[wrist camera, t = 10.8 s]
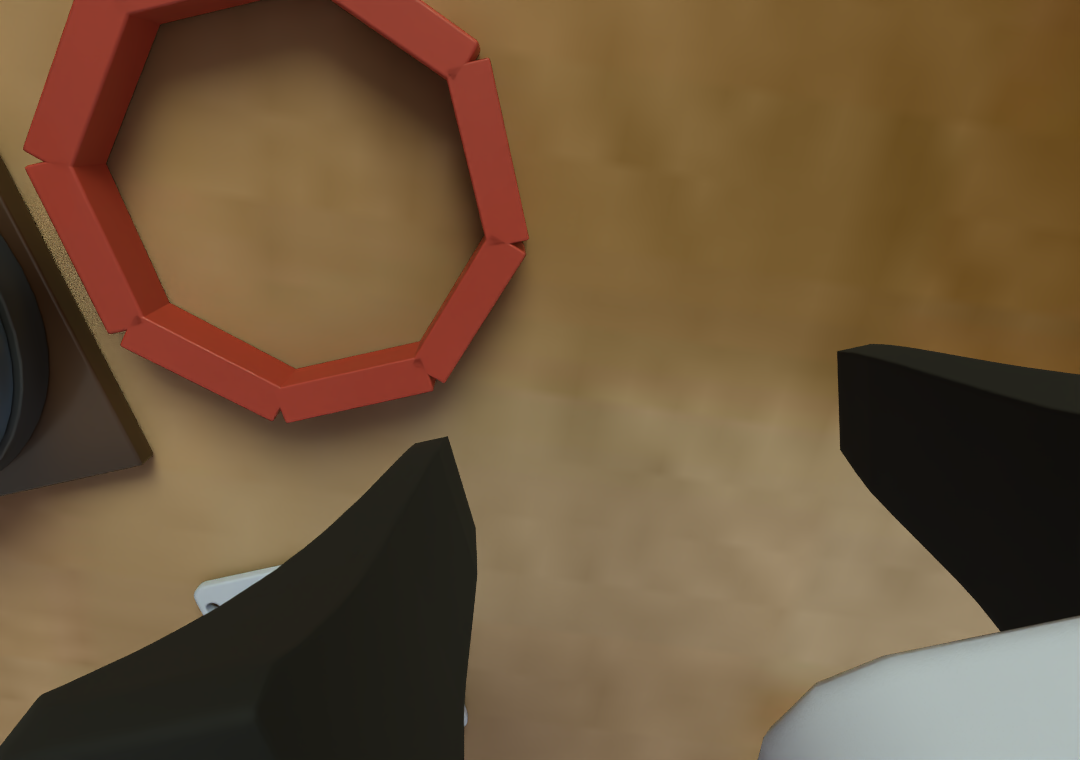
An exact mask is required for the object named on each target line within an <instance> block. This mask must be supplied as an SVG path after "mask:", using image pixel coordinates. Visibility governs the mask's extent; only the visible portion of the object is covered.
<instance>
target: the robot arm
mask: <svg viewBox="0 0 1080 760" xmlns="http://www.w3.org/2000/svg"><path fill="white" fill-rule="evenodd" d="M837 360H838V392H839V425H840V450H841V452H842V453H843V455H844V456H845V457H846V459H847V460H848V462H849V463H850V465H851V466H852V468H853V469H854V471H855V472H856V473H857V475H858V476H859V477H860V479H861V480H862V481H863V483H864V484H865V485H866V487H867V488H868V489H869V491H870V492H871V493H872V494H873V495H874V496H875V497H876V498H877V499H878V500H879V501H880V502H881V503H882V505H883V506H884V507H885V508H886V509H887V510H888V511H889V512H890V513H891V514H892V515H893V516H894V517H895V518H896V519H897V520H898V521H899V522H900V523H901V524H902V525H903V526H904V527H905V528H906V529H907V530H908V531H909V532H910V533H911V534H912V535H913V536H914V537H915V538H916V539H917V540H918V541H919V542H920V543H921V544H922V545H923V546H924V547H925V548H926V549H927V550H928V551H929V552H930V553H931V554H932V555H933V556H934V557H935V558H936V559H937V560H938V561H939V562H940V564H941V565H942V566H943V567H944V568H945V569H946V570H947V571H948V572H949V573H950V574H951V575H952V576H953V577H954V578H955V579H956V580H957V581H958V582H959V583H960V584H961V585H962V586H963V587H964V588H965V589H966V591H967V592H968V593H969V594H970V595H971V596H972V597H973V598H974V599H975V600H976V602H977V603H978V604H979V605H980V606H981V608H982V609H983V610H984V611H985V613H986V614H987V615H988V616H989V618H990V619H991V620H992V621H993V623H994V624H995V625H996V626H997V628H998V629H999V630H1000V631H1001V632H997V633H992V634H987V635H982V636H978V637H973V638H968V639H963V640H958V641H953V642H948V643H943V644H939V645H934V646H929V647H924V648H919V649H914V650H909V651H904V652H900V653H895V654H890V655H885V656H882V657H879V658H877V659H874V660H872V661H869V662H867V663H864V664H862V665H859V666H857V667H854V668H852V669H849V670H847V671H844V672H842V673H840V674H837V675H835V676H832V677H830V678H827V679H825V680H822V681H820V682H817V683H816V684H815V685H814V686H813V687H812V688H811V689H809V690H808V691H807V692H806V693H805V694H804V695H803V696H802V697H801V698H800V699H799V700H798V701H797V702H796V703H795V704H794V705H793V706H792V707H791V708H790V709H789V710H788V711H787V712H786V713H785V714H784V715H783V716H782V717H781V718H780V719H779V720H778V721H777V722H776V723H775V724H774V725H772V726H771V728H770V729H769V731H768V732H767V733H766V735H765V736H764V738H763V742H762V746H761V750H760V753H759V757H758V760H1080V375H1079V374H1070V373H1063V372H1056V371H1049V370H1042V369H1034V368H1027V367H1021V366H1014V365H1008V364H1002V363H996V362H990V361H984V360H978V359H973V358H967V357H961V356H956V355H950V354H945V353H939V352H933V351H927V350H922V349H916V348H909V347H902V346H894V345H884V344H869V345H865V346H860V347H855V348H851V349H846V350H842V351H837ZM476 582H477V550H476V528H475V525H474V521H473V518H472V515H471V511H470V508H469V505H468V502H467V498H466V495H465V492H464V488H463V485H462V482H461V478H460V475H459V472H458V469H457V465H456V462H455V459H454V455H453V452H452V449H451V446H450V442H449V439H448V436H447V437H443V438H438V439H433V440H429V441H424V442H420V443H415V444H414V445H413V446H412V447H410V448H409V449H408V450H407V451H406V452H405V453H404V454H403V455H402V456H401V457H400V458H399V459H398V460H397V461H396V462H395V463H394V464H393V465H392V466H391V467H390V468H389V469H388V470H387V471H386V472H385V473H384V474H383V475H382V476H381V477H380V479H379V480H378V481H377V482H376V483H375V484H374V485H373V486H372V487H371V488H370V489H369V490H368V491H367V492H366V493H365V494H364V495H363V496H362V497H361V498H360V499H359V500H358V501H357V502H356V503H354V504H353V505H352V506H351V507H350V508H349V509H348V510H347V511H346V512H345V513H344V514H343V515H342V516H340V517H339V518H338V519H337V520H336V521H335V522H334V523H333V524H332V525H331V526H330V527H329V528H328V529H326V530H325V531H324V532H323V533H322V534H321V535H319V536H318V537H317V538H316V539H315V540H313V541H312V542H311V543H310V544H308V545H307V546H306V547H305V548H303V549H302V550H301V551H300V552H298V553H297V554H296V555H294V556H293V557H292V558H290V559H289V560H288V561H286V562H285V563H284V564H282V565H279V566H274V567H269V568H265V569H260V570H255V571H251V572H246V573H241V574H237V575H232V576H227V577H223V578H218V579H213V580H209V581H205V582H203V583H201V584H200V585H199V586H198V588H197V589H196V591H195V593H194V598H195V601H196V603H197V605H198V606H199V608H200V610H201V612H202V614H203V616H202V617H200V618H198V619H196V620H195V621H193V622H191V623H189V624H188V625H186V626H184V627H182V628H180V629H178V630H177V631H175V632H173V633H171V634H169V635H167V636H165V637H163V638H161V639H160V640H158V641H156V642H154V643H152V644H150V645H148V646H146V647H144V648H142V649H140V650H138V651H136V652H134V653H132V654H130V655H128V656H126V657H124V658H121V659H119V660H117V661H115V662H113V663H111V664H108V665H106V666H104V667H102V668H100V669H98V670H95V671H93V672H91V673H89V674H87V675H85V676H82V677H80V678H78V679H76V680H74V681H72V682H69V683H67V684H65V685H63V686H61V687H58V688H56V689H54V690H51V691H49V692H47V693H44V694H42V695H41V696H40V697H39V698H38V699H37V700H36V701H35V702H34V704H33V705H32V706H31V708H30V709H29V710H28V711H27V713H26V714H25V715H24V716H23V718H22V719H21V720H20V722H19V723H18V724H17V725H16V727H15V728H14V729H13V730H12V732H11V733H10V734H9V736H8V737H7V738H6V739H5V741H4V742H3V743H2V744H1V746H0V760H464V726H466V724H467V720H468V713H467V710H466V707H465V688H466V677H467V668H468V658H469V649H470V640H471V630H472V621H473V612H474V602H475V592H476ZM212 603H215V604H218V605H219V607H217V606H214V605H213V604H212Z"/></svg>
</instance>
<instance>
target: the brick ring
mask: <svg viewBox="0 0 1080 760" xmlns="http://www.w3.org/2000/svg"><path fill="white" fill-rule="evenodd" d="M256 1H260V0H74V1H73V4H72V7H71V10H70V13H69V16H68V19H67V22H66V25H65V27H64V30H63V33H62V36H61V39H60V42H59V45H58V48H57V51H56V54H55V57H54V59H53V62H52V65H51V68H50V71H49V74H48V77H47V80H46V83H45V86H44V89H43V92H42V94H41V97H40V100H39V103H38V106H37V109H36V112H35V115H34V118H33V121H32V124H31V126H30V129H29V132H28V135H27V138H26V141H25V144H24V147H23V150H24V151H26V152H27V153H29V154H31V155H33V156H35V157H36V158H38V159H40V160H42V161H44V162H41V163H36V164H32V165H28V166H26V167H25V170H26V172H27V174H28V176H29V178H30V180H31V182H32V184H33V186H34V188H35V190H36V191H37V193H38V195H39V197H40V199H41V201H42V203H43V205H44V207H45V209H46V211H47V213H48V215H49V217H50V219H51V221H52V223H53V225H54V227H55V229H56V231H57V233H58V235H59V237H60V239H61V241H62V243H63V245H64V247H65V249H66V251H67V253H68V255H69V257H70V259H71V261H72V263H73V265H74V267H75V269H76V271H77V273H78V275H79V277H80V279H81V281H82V283H83V285H84V287H85V289H86V291H87V293H88V295H89V297H90V299H91V301H92V303H93V304H94V306H95V308H96V310H97V312H98V314H99V316H100V318H101V320H102V322H103V324H104V326H105V328H106V330H107V332H108V333H109V334H113V333H118V332H122V331H126V333H125V335H124V337H123V339H122V342H121V344H120V346H121V347H123V348H125V349H127V350H129V351H131V352H133V353H135V354H137V355H139V356H141V357H143V358H146V359H148V360H150V361H152V362H154V363H156V364H158V365H160V366H162V367H164V368H166V369H168V370H170V371H172V372H174V373H176V374H178V375H180V376H182V377H184V378H186V379H188V380H190V381H192V382H194V383H196V384H198V385H200V386H202V387H204V388H206V389H208V390H210V391H212V392H214V393H216V394H218V395H220V396H222V397H224V398H226V399H228V400H230V401H232V402H234V403H236V404H238V405H240V406H242V407H244V408H246V409H248V410H250V411H252V412H254V413H256V414H258V415H260V416H262V417H264V418H266V419H268V420H270V421H273V420H274V419H275V418H276V416H277V415H278V414H279V412H280V411H281V412H282V414H283V417H284V419H285V421H286V423H290V422H295V421H299V420H304V419H308V418H313V417H317V416H322V415H326V414H331V413H335V412H340V411H344V410H349V409H354V408H358V407H363V406H367V405H372V404H376V403H381V402H385V401H390V400H394V399H399V398H403V397H408V396H412V395H417V394H422V393H426V392H431V391H433V389H434V385H435V381H436V379H437V380H439V381H441V382H442V383H445V382H446V380H447V379H448V377H449V376H450V374H451V372H452V371H453V369H454V368H455V366H456V365H457V363H458V361H459V360H460V358H461V357H462V355H463V354H464V352H465V350H466V349H467V347H468V346H469V344H470V343H471V341H472V339H473V338H474V336H475V335H476V333H477V331H478V330H479V328H480V327H481V325H482V324H483V322H484V320H485V319H486V317H487V316H488V314H489V313H490V311H491V309H492V308H493V306H494V305H495V303H496V301H497V300H498V298H499V297H500V295H501V294H502V292H503V290H504V289H505V287H506V286H507V284H508V283H509V281H510V279H511V278H512V276H513V275H514V273H515V272H516V270H517V268H518V267H519V265H520V264H521V262H522V260H523V259H524V257H525V256H526V252H525V247H524V244H523V243H522V242H521V241H526V240H528V239H529V236H528V232H527V227H526V222H525V218H524V213H523V209H522V204H521V199H520V195H519V190H518V186H517V181H516V176H515V172H514V167H513V163H512V158H511V154H510V149H509V144H508V140H507V135H506V131H505V126H504V121H503V117H502V112H501V108H500V103H499V98H498V94H497V89H496V85H495V80H494V75H493V71H492V66H491V62H490V59H489V58H484V59H480V60H476V58H477V57H478V55H479V53H480V47H479V43H478V41H477V40H476V39H474V38H473V37H471V36H470V35H469V34H467V33H466V32H465V31H463V30H462V29H460V28H459V27H458V26H456V25H455V24H453V23H452V22H451V21H449V20H448V19H446V18H445V17H444V16H442V15H441V14H440V13H438V12H437V11H435V10H434V9H433V8H431V7H430V6H428V5H427V4H426V3H424V2H423V1H421V0H331V1H332V2H334V3H335V4H337V5H338V6H339V7H341V8H342V9H344V10H345V11H347V12H348V13H350V14H351V15H352V16H354V17H355V18H357V19H358V20H360V21H361V22H363V23H364V24H365V25H367V26H368V27H370V28H371V29H373V30H374V31H376V32H377V33H378V34H380V35H381V36H383V37H384V38H386V39H387V40H389V41H390V42H392V43H393V44H394V45H396V46H397V47H399V48H400V49H402V50H403V51H405V52H406V53H407V54H409V55H410V56H412V57H413V58H415V59H416V60H418V61H419V62H420V63H422V64H423V65H425V66H426V67H428V68H429V69H431V70H432V71H433V72H435V73H436V74H438V75H439V76H441V77H442V78H444V79H445V80H446V81H447V84H448V88H449V92H450V96H451V100H452V104H453V108H454V112H455V117H456V121H457V125H458V129H459V133H460V137H461V141H462V145H463V149H464V153H465V157H466V161H467V166H468V170H469V174H470V178H471V182H472V186H473V190H474V194H475V198H476V202H477V206H478V211H479V215H480V219H481V223H482V227H483V231H484V236H483V238H482V240H481V241H480V243H479V245H478V246H477V248H476V250H475V251H474V253H473V254H472V256H471V258H470V259H469V261H468V263H467V264H466V266H465V268H464V269H463V271H462V273H461V274H460V276H459V278H458V279H457V281H456V283H455V284H454V286H453V288H452V289H451V291H450V293H449V294H448V296H447V297H446V299H445V301H444V302H443V304H442V306H441V307H440V309H439V311H438V312H437V314H436V316H435V317H434V319H433V321H432V322H431V324H430V326H429V327H428V329H427V331H426V332H425V334H424V335H423V337H422V339H421V340H420V341H419V342H415V343H411V344H406V345H402V346H397V347H393V348H388V349H384V350H379V351H375V352H370V353H366V354H361V355H357V356H352V357H348V358H343V359H339V360H334V361H330V362H325V363H321V364H316V365H312V366H307V367H303V368H298V369H295V368H293V367H291V366H289V365H287V364H285V363H283V362H281V361H280V360H278V359H276V358H274V357H272V356H270V355H268V354H266V353H264V352H262V351H260V350H259V349H257V348H255V347H253V346H251V345H249V344H247V343H245V342H243V341H241V340H239V339H238V338H236V337H234V336H232V335H230V334H228V333H226V332H224V331H222V330H220V329H218V328H217V327H215V326H213V325H211V324H209V323H207V322H205V321H203V320H201V319H199V318H198V317H196V316H194V315H192V314H190V313H188V312H186V311H184V310H182V309H180V308H178V307H177V306H175V305H173V304H171V303H169V301H168V299H167V296H166V294H165V292H164V290H163V288H162V285H161V283H160V281H159V279H158V277H157V274H156V272H155V270H154V268H153V266H152V263H151V261H150V259H149V257H148V255H147V252H146V250H145V248H144V246H143V244H142V241H141V239H140V237H139V235H138V233H137V230H136V228H135V226H134V224H133V222H132V219H131V217H130V215H129V213H128V211H127V208H126V206H125V204H124V202H123V200H122V198H121V195H120V193H119V191H118V189H117V187H116V184H115V182H114V180H113V178H112V176H111V173H110V171H109V169H108V167H107V165H106V162H107V160H108V157H109V154H110V152H111V149H112V147H113V144H114V142H115V139H116V136H117V134H118V131H119V129H120V126H121V124H122V121H123V118H124V116H125V113H126V111H127V108H128V106H129V103H130V100H131V98H132V95H133V93H134V90H135V88H136V85H137V82H138V80H139V77H140V75H141V72H142V70H143V67H144V64H145V62H146V59H147V57H148V54H149V52H150V49H151V46H152V44H153V41H154V39H155V36H156V34H157V31H158V28H159V26H160V24H163V23H168V22H172V21H176V20H180V19H184V18H189V17H193V16H197V15H201V14H205V13H209V12H214V11H218V10H222V9H226V8H230V7H235V6H239V5H243V4H247V3H251V2H256ZM475 60H476V61H475Z"/></svg>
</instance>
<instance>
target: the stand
mask: <svg viewBox="0 0 1080 760" xmlns="http://www.w3.org/2000/svg"><path fill="white" fill-rule="evenodd" d="M152 455H153V452H152V450H151V448H150V446H149V444H148V443H147V441H146V439H145V437H144V435H143V433H142V431H141V429H140V427H139V425H138V423H137V421H136V419H135V417H134V415H133V413H132V411H131V409H130V408H129V406H128V404H127V402H126V400H125V398H124V396H123V394H122V392H121V390H120V388H119V386H118V384H117V382H116V380H115V378H114V376H113V374H112V373H111V371H110V369H109V367H108V365H107V363H106V361H105V359H104V357H103V355H102V353H101V351H100V349H99V347H98V345H97V343H96V341H95V340H94V338H93V336H92V334H91V332H90V330H89V328H88V326H87V324H86V322H85V320H84V318H83V316H82V314H81V312H80V310H79V308H78V306H77V305H76V303H75V301H74V299H73V297H72V295H71V293H70V291H69V289H68V287H67V285H66V283H65V281H64V279H63V277H62V275H61V273H60V272H59V270H58V268H57V266H56V264H55V262H54V260H53V258H52V256H51V254H50V252H49V250H48V248H47V246H46V244H45V242H44V240H43V238H42V237H41V235H40V233H39V231H38V229H37V227H36V225H35V223H34V221H33V219H32V217H31V215H30V213H29V211H28V209H27V207H26V205H25V203H24V202H23V200H22V198H21V196H20V194H19V192H18V190H17V188H16V186H15V184H14V182H13V180H12V178H11V176H10V174H9V172H8V170H7V169H6V167H5V165H4V163H3V161H2V159H1V157H0V496H4V495H8V494H13V493H17V492H22V491H26V490H31V489H35V488H40V487H45V486H49V485H54V484H58V483H63V482H67V481H72V480H76V479H81V478H86V477H90V476H95V475H99V474H104V473H108V472H113V471H117V470H122V469H127V468H131V467H136V466H140V465H142V464H144V463H145V462H146V461H147V460H148V459H149V458H150V457H151V456H152Z"/></svg>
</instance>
